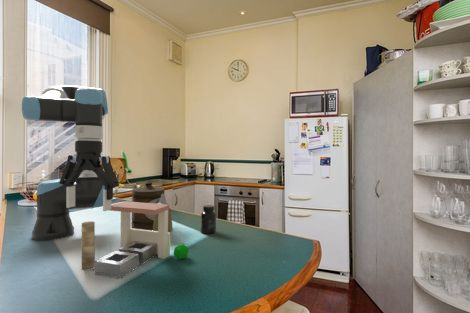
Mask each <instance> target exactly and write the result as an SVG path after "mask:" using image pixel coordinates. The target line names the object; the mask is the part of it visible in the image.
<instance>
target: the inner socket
mask: <svg viewBox="0 0 470 313" xmlns="http://www.w3.org/2000/svg"><path fill="white" fill-rule="evenodd" d="M118 251H120V252H127V253H135V254H139V263H142V264H141V265H143V263H144V262H145V263H146V261H147V260H148V261H150V260H151V259H153V258H154V257H156V256H158V255H157V243H149V242H141V241H133V242H131V243H129V244H127V245H125V246H123V247H122V248H121V247H119V248H118ZM155 255H156V256H155ZM153 256H154V257H153ZM152 257H153V258H152ZM150 258H151V259H150ZM149 259H150V260H149ZM148 261H147V262H148ZM145 263H144V264H145Z"/></svg>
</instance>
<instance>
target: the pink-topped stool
mask: <svg viewBox="0 0 470 313" xmlns="http://www.w3.org/2000/svg"><path fill="white" fill-rule="evenodd" d="M169 208H170V204H169V205H166V204H153V203H141V202H132V201H127V200H124V201H121V202H120V201H119V202H118V203H113V204H111V210H109V211H112V212H120V248H122V247H123V246H125V245H127V244H129V243H131V242H133V241H141V242H149V243H157V254H158V255H157V258H158V259H164V260H165V258H166V259H167V257H170V256H171V234H170V233H169V232H168V209H169ZM132 213H142V214H153V215H156V214H158V231H151V230H142V229H133V228H131V222H132V219H131V217H132Z"/></svg>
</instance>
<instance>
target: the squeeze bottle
mask: <svg viewBox="0 0 470 313" xmlns="http://www.w3.org/2000/svg"><path fill="white" fill-rule="evenodd" d="M157 204H166V205H169V206H170V204H169V202H167V199H166V194H165V193H164V194H162V196H161V200H160V202H159V203H157ZM173 229H174V228H173V218H172V209H171V208H170V207H169V209H168V232H169V233H170V235H171V234H172V231H173ZM153 231H158V214H156V215H154V223H153Z"/></svg>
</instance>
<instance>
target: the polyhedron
mask: <svg viewBox="0 0 470 313" xmlns="http://www.w3.org/2000/svg"><path fill="white" fill-rule="evenodd" d="M173 255H174V257H175V258H177V259H179V260H184V259H186V258H187V257H188V255H189V247H188V246H187V245H185V244H184V243H180V244H178V245H176V246H175V247H174V249H173Z"/></svg>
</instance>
